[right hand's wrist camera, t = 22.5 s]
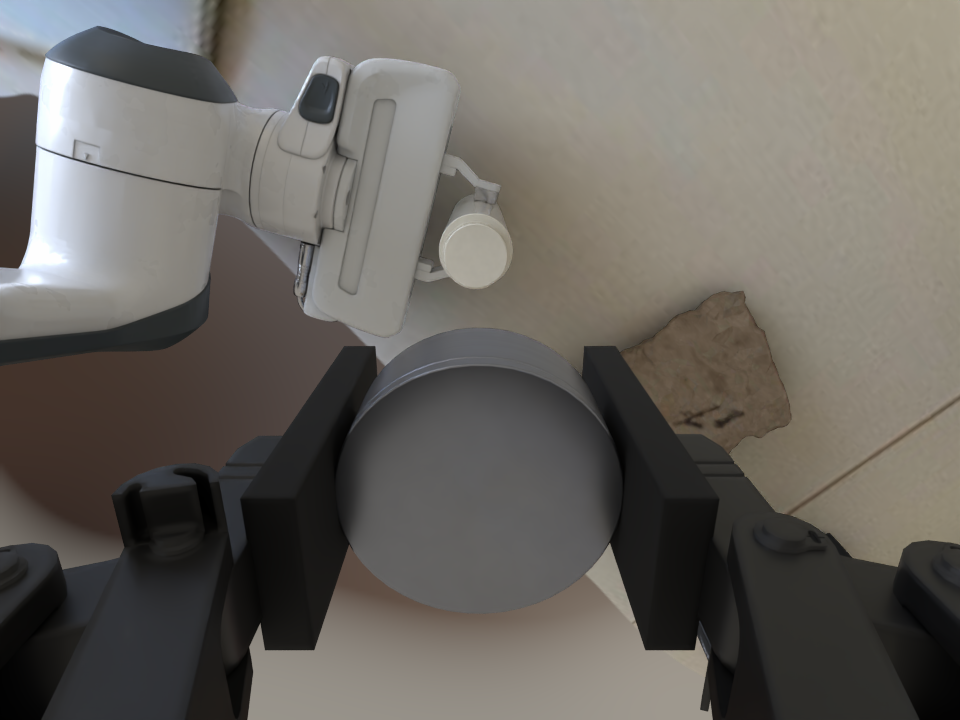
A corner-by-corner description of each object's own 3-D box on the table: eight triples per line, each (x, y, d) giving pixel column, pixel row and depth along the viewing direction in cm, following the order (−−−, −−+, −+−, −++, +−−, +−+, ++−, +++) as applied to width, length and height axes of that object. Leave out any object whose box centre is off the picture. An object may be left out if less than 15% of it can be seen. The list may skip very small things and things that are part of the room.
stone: (602, 520, 57) (618, 543, 51) (527, 392, 56) (534, 401, 50) (785, 412, 57) (823, 423, 51) (714, 282, 56) (744, 277, 50)
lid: (643, 475, 12) (674, 537, 10) (445, 579, 13) (439, 653, 11) (520, 276, 11) (528, 304, 9) (306, 410, 12) (273, 461, 10)
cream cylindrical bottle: (444, 202, 50) (426, 229, 33) (495, 187, 50) (503, 207, 33) (459, 252, 52) (449, 303, 35) (508, 238, 51) (522, 283, 34)
